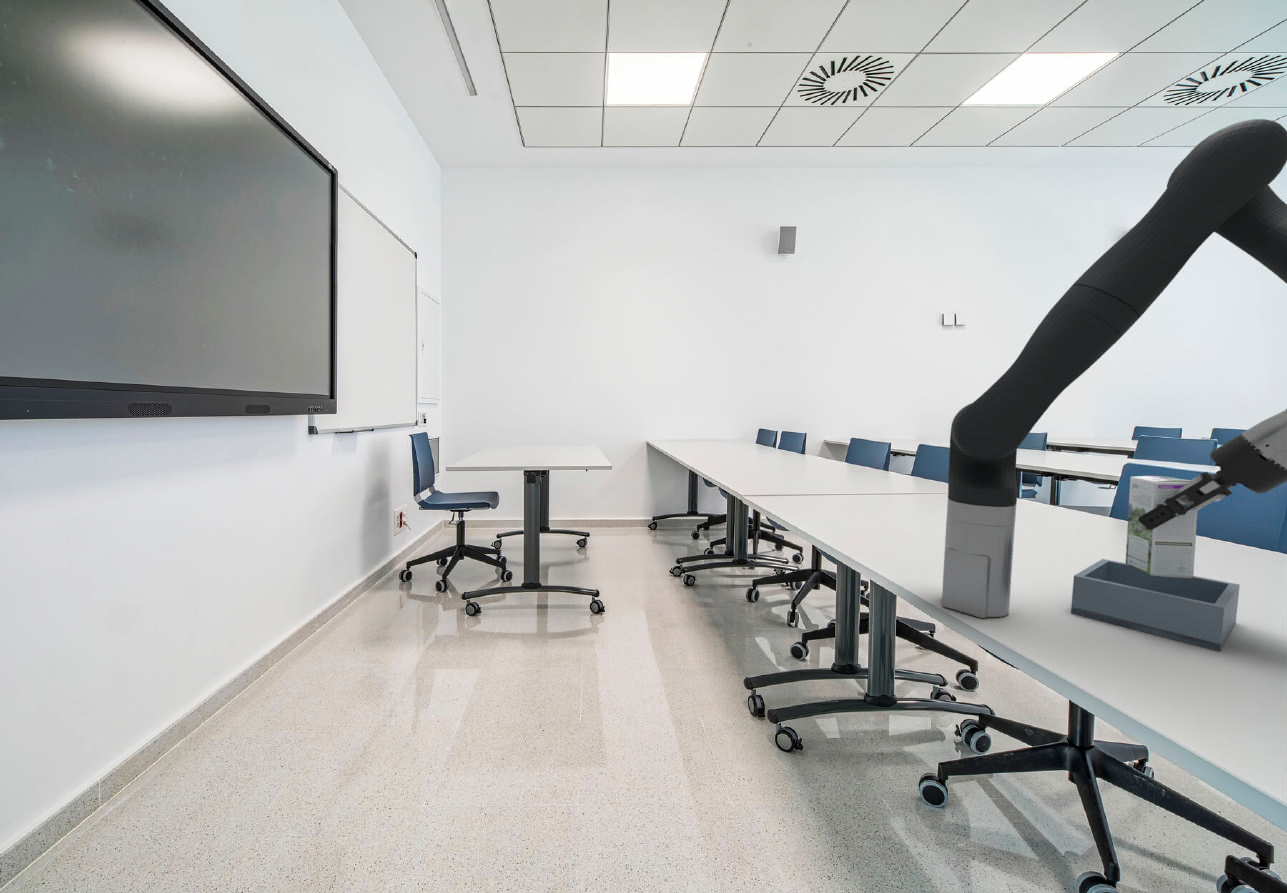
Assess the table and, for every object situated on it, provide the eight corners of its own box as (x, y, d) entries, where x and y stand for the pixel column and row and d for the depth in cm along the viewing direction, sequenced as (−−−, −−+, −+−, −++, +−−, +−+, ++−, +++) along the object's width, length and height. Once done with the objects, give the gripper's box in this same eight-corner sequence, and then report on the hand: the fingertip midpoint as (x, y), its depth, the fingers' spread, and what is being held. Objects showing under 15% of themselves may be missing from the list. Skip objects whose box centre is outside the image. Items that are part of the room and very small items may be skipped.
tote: (1219, 651, 70) (1224, 607, 70) (1070, 612, 83) (1073, 575, 83) (1235, 623, 80) (1239, 584, 80) (1099, 592, 93) (1102, 558, 92)
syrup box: (1195, 578, 78) (1203, 480, 77) (1148, 575, 79) (1155, 479, 78) (1166, 567, 83) (1173, 476, 82) (1122, 565, 84) (1128, 474, 83)
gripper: (1250, 430, 78) (1139, 497, 88) (1237, 433, 69) (1116, 506, 79) (1304, 470, 74) (1181, 535, 84) (1298, 477, 65) (1162, 549, 75)
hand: (1150, 521), depth 81 cm, fingers closed on syrup box, 8 cm apart
